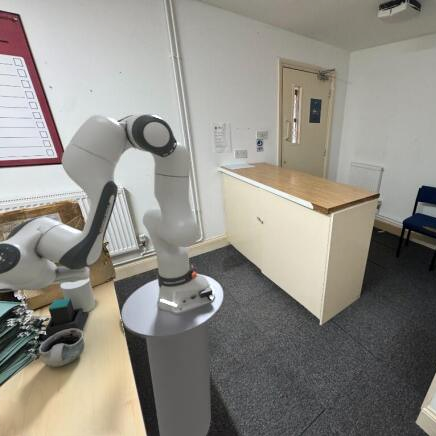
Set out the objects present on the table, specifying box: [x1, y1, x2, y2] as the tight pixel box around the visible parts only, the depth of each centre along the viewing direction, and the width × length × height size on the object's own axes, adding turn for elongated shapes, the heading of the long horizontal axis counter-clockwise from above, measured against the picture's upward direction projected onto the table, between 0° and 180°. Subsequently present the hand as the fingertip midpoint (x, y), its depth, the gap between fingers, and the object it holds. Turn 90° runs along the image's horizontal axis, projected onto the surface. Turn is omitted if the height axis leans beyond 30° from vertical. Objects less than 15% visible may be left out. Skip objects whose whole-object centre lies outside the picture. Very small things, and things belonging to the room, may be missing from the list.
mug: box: [38, 329, 86, 368], centre depth 69 cm, size 10×12×10 cm
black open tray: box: [41, 308, 89, 342], centre depth 82 cm, size 10×9×4 cm
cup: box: [59, 277, 96, 312], centre depth 89 cm, size 8×8×12 cm
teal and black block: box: [48, 298, 76, 326], centre depth 80 cm, size 4×4×9 cm
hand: (55, 282), depth 77 cm, fingers open, 8 cm apart
